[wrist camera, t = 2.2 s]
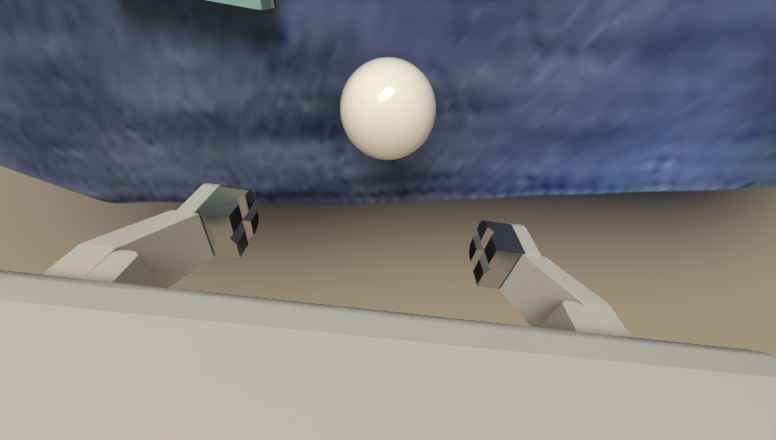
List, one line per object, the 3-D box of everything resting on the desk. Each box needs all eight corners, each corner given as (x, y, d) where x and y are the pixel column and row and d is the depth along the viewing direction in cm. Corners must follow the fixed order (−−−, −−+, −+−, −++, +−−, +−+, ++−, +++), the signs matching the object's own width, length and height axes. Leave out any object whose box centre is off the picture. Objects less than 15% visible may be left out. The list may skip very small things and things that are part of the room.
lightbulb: (365, 122, 27) (349, 183, 19) (346, 48, 23) (315, 83, 15) (431, 110, 26) (444, 169, 18) (423, 30, 22) (435, 57, 14)
